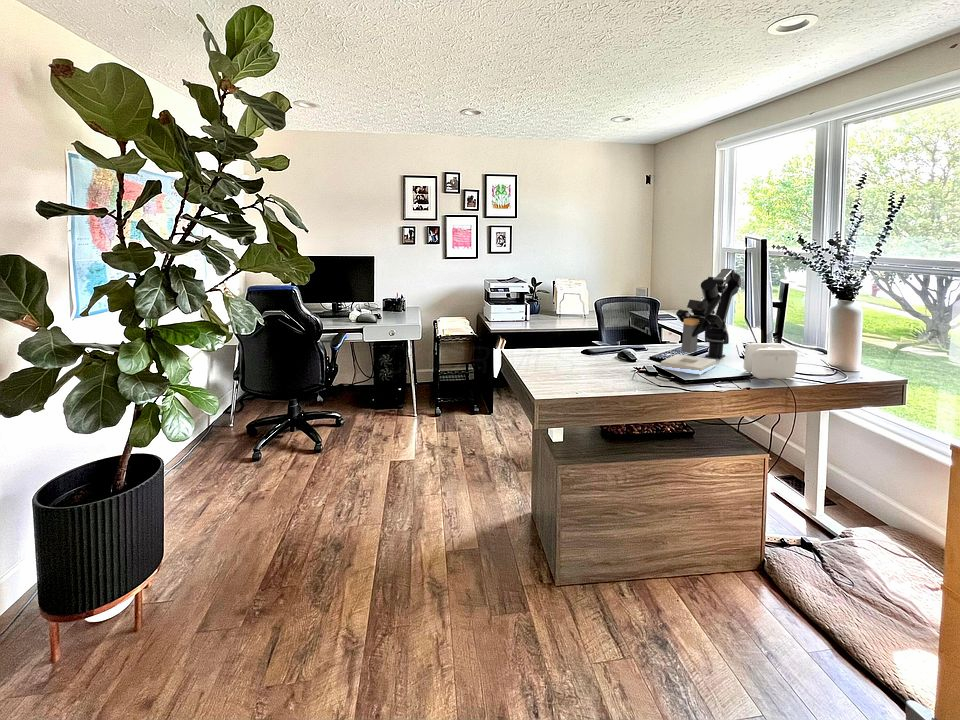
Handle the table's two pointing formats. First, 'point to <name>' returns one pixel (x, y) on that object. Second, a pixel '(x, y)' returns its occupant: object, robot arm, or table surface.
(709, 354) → the robot arm
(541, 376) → the table surface
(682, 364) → the socket block
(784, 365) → the cable organizer
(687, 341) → the plug
